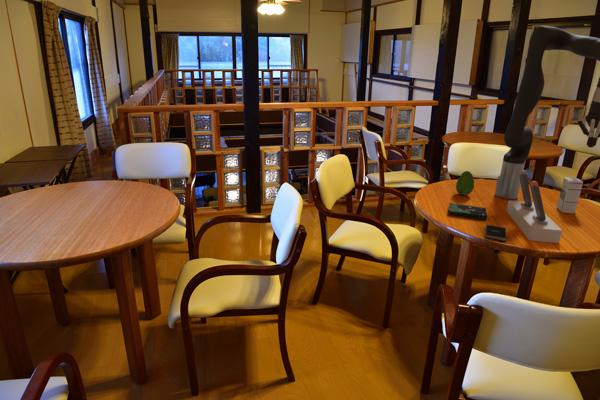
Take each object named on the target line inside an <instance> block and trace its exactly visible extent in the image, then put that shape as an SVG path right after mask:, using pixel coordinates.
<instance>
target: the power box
mask: <svg viewBox="0 0 600 400" xmlns="http://www.w3.org/2000/svg"><path fill="white" fill-rule="evenodd" d="M506 206H507V207H506V213H507V214H508V216H509V217H510V218H511V219H512V220H513V221H514V223H515V224H516V226H518V228H519V230H521V232H522V233H523V234H524V236H525V237H526V238H527V240H529V241H532V242H535V241H536V242H542V243H543V242H544V243H553V244H560V241H561V237H562V234H563V230H562V228H560V227H559V226H558V225H557V224H556V222H554V221H553V220H552V219H551V218H550V217H549V216H548V215H547V214H546V213H545V217H546V220H545V221H542V220H541V219H540V218H539V217H538V216H537V215H536V210H535V206H534V202H532V206H531V207H528V206H527V205H526V204H525V203H524V201H518V200H508V202H507V205H506Z"/></svg>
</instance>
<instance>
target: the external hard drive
mask: <svg viewBox="0 0 600 400" xmlns="http://www.w3.org/2000/svg"><path fill="white" fill-rule="evenodd" d="M484 231H485V233H484V238H485V240H490V241H495V242H500V243H501V242H502V243H506V242H507V239H508V238H507V228H506V227H503V226H497V225H492V224H486V225H485V230H484Z"/></svg>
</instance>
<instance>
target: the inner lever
mask: <svg viewBox="0 0 600 400" xmlns="http://www.w3.org/2000/svg"><path fill="white" fill-rule="evenodd" d="M519 178H520V188H521V193H522V199H523V202H524V203H525V204H526V205H527V206H528V207H531V206H532V203H533V200H532V197H531V196H532V195H531V189H530V185H529V179H528V174H527V171H526V170H525V169H523V170H520V171H519Z"/></svg>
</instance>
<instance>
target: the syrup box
mask: <svg viewBox="0 0 600 400" xmlns="http://www.w3.org/2000/svg"><path fill="white" fill-rule="evenodd" d="M583 184H584V181H583V180H581V179H579V178H577V177H565V176H564V178H563V180H562V184H561V190H560V193H559V197H558V200H557V205H556V209H557V210H559V212H561V213H567V214H576V211H577V207H578V203H579V199H580V196H581V192H582V188H583Z"/></svg>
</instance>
